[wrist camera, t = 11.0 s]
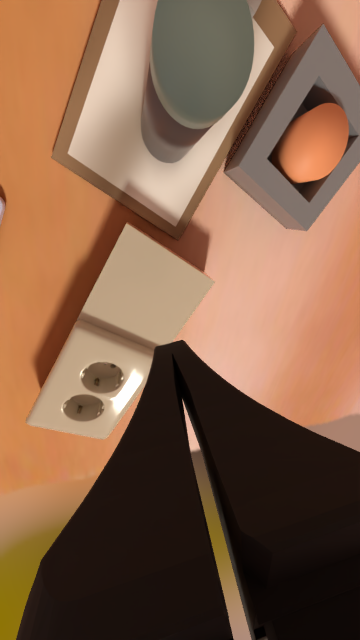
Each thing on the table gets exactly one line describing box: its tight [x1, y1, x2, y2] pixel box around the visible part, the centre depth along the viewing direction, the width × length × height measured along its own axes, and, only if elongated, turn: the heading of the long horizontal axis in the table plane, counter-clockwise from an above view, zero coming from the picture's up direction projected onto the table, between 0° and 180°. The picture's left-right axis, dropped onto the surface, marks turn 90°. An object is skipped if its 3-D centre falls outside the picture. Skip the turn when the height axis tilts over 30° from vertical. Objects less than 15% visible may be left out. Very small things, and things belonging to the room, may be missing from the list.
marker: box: [141, 0, 254, 163], centre depth 10 cm, size 3×3×7 cm
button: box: [272, 103, 349, 184], centre depth 13 cm, size 4×4×2 cm
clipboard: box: [51, 0, 297, 240], centre depth 12 cm, size 9×13×1 cm
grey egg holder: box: [224, 24, 360, 231], centre depth 14 cm, size 7×7×2 cm
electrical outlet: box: [26, 221, 215, 439], centre depth 18 cm, size 7×4×18 cm
